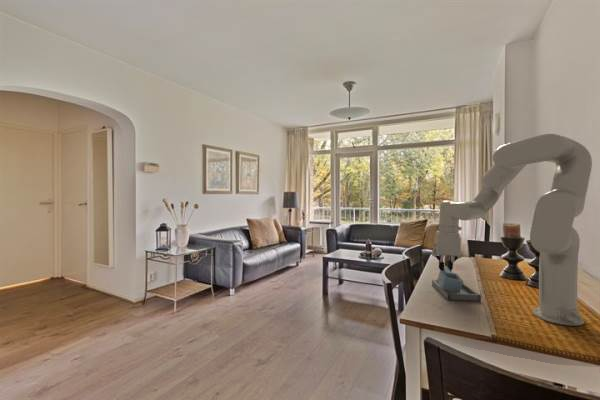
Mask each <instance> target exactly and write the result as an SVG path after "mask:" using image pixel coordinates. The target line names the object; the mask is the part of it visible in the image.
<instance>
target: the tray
mask: <svg viewBox="0 0 600 400" xmlns="http://www.w3.org/2000/svg"><path fill="white" fill-rule="evenodd" d="M431 286H432V287H433V288H434V287H435V288H436V289H435V288H434V289H435V290H436V291H437V290H438V291H437V292H438V293H439V294H441V296H442V297H443V298H444V299H446V301H448V300H450V302H451V301H452V302H454V301H455V302H475V303H476V302H477V303H478V302H479V303H480V302H482V295H481V294H480V293H479V292H477V291H476V290H475V289H473V288H472V287H470V286H469V285H467V284H466V283H465V282H463V285H462V288H461V291H460V293H457V292H453V291H449V290H445V289H442V288H441V287H440V285H439V283H438V281H437V279H432V280H431Z"/></svg>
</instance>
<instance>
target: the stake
mask: <svg viewBox="0 0 600 400" xmlns="http://www.w3.org/2000/svg"><path fill="white" fill-rule="evenodd" d="M448 261H449V256H447V255H444V266H447V265H448Z"/></svg>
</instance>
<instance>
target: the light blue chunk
mask: <svg viewBox="0 0 600 400" xmlns="http://www.w3.org/2000/svg"><path fill="white" fill-rule="evenodd" d="M436 280H437V281H438V283H439V285H440V287H441V288H442V289H445V290H449V291H453V292H457V293H460V291H461V288H462V285H463V283H464V281H463V279H462V278H461V277H460V275H459V274H458V273H455V272H453V271H450V269H449V268H448V267H447V266H445V265H444V271H442V270H440V269H439V274H438V276H437V279H436Z"/></svg>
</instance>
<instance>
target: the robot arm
mask: <svg viewBox="0 0 600 400" xmlns="http://www.w3.org/2000/svg"><path fill="white" fill-rule="evenodd" d="M492 162H493V164H492V165H491V166H490V167H489V169H488V170H487V171H486V172H485V173H484V174H483V175H482V177H481V182H482V186H481V189H480V192H479V193H478V194H477V196H475V198H473V200H472V201H461V202H460V201H458V200H457V201H456V200H442V201H441V202H440V205H439V220H438V230H436V231H435V235H434V240H433V244H432V245H433V247H432V251H431V252H430V255H431V256H432V257H435V258H436V259H437V260H438V269H439V271H440V270H442V271H444V266H445V261H444V259H445V256H446V255H447V256H449V261H448V265H447V267H448V268H449V269H450V271H451V272H453V268H454V263H455V261H457V260H458V259H461V258H463V257H464V256H463V254H462V251H461V249H462V247H461V242H462V241H461V235H460V231H462V229H463V228H462V227H461V226H459V222H460V221H473V220H479V219H481V218H483V217H484V216H486V214H488V212H489V211H490V210H491V209H492V208H493V207H494V206H495V205H496V203H498V201H499V199H500V197H501V195H502V194H503V192H504V190H505V189H506V188H507V187H508V185H509V184H510V183H511V182H512V181H513V180H514V179H515V178H516V177H517V176H518V175H519V173H521V172H522V170H523V169H524V168H525V167H526V166H527V165H530V164H531V165H533V164H535V163H543V162H549V163H554V164H556V165H555V166H556V169H555V171H554V174H553V178H552V183H551V187H550V191H547V192H544V194H542V195H541V196H540V197H539V198H538V200H537V202H536V204H535V207H534V208H535V209H534V213H533V218H532V224H531V227H530V232H529V242H530V244H531V246H532V247H533V248H534V249H535V251H537V252H538V253H539V259H538V260H539V261H538V264H539V265H538V303H539V304H538V307H534V308H533V309H532V313H533V315H534V316H535V317H537V318H539V319H541V320H544V321H545V322H546V321H547V322H549V323H553V324H557V325H563V326H571V327H572V326H573V327H574V326H575V327H576V326H582V325H584V324H585V319H584V317H582V316H581V315H580V310H579V309H578V270H579V269H578V268H579V265H578V264H579V252H580V243H581V242H580V236H579V232H578V231H577V230H576V229H575V228H574V227H573V224H574V221H575V219H576V217H579V216H580V215H581V214H582V213H583V211H584V209H585V203H586V197H587V192H588V189H589V182H590V177H591V173H592V168H593V167H592V166H593V159H592V156H591V153H590V151H589V150H588V149H587V147H586V146H585V145H583V144H582V143H580V142H578V141H576V140H574V139H572V138H570V137H566V136H562V135H559V134H555V133H546V134H543V133H542V134H540V135H539V134H538V135H535V136H531V137H529V138H528V137H527V138H524V139H520V140H516V141H512V142H508V143H505V144H502V145H500V146H498V147H497V148H496V149H495V150H494V152H493V154H492ZM459 220H460V221H459Z"/></svg>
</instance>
